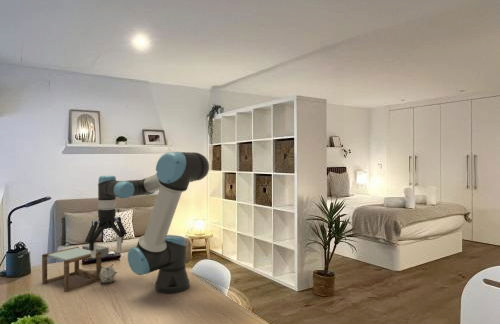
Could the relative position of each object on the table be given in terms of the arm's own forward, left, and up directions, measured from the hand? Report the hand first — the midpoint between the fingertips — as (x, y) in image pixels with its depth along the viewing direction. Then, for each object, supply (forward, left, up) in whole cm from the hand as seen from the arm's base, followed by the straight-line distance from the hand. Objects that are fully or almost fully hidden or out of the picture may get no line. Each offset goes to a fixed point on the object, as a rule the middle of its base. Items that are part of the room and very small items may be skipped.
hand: (106, 253), depth 157 cm
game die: (0, 0, -14) cm, 14 cm away
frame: (+15, +8, -14) cm, 21 cm away
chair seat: (+15, +4, -3) cm, 16 cm away
